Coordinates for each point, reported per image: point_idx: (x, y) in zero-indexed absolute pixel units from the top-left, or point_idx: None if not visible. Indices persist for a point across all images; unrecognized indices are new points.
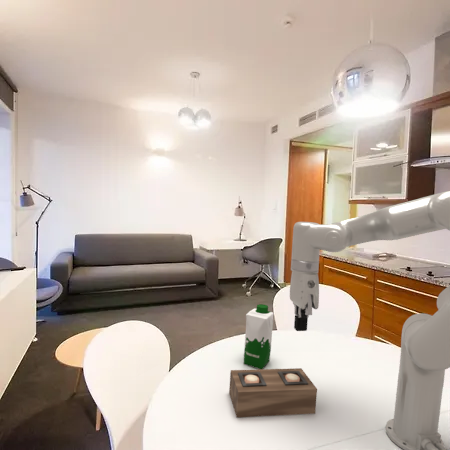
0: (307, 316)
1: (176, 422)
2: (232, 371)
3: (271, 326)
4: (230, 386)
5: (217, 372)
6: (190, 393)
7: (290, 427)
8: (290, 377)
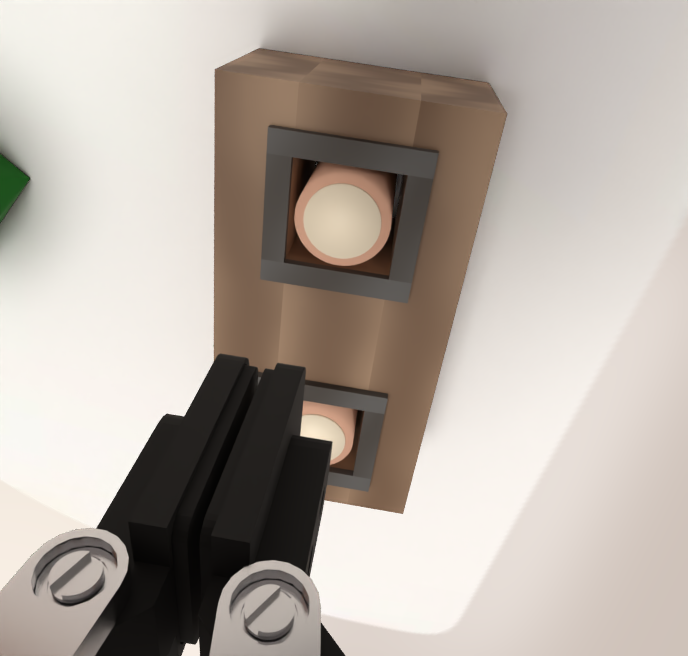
0: (319, 624)
1: (379, 575)
2: None
3: None
4: None
5: (80, 395)
6: None
7: (534, 268)
8: (349, 242)
